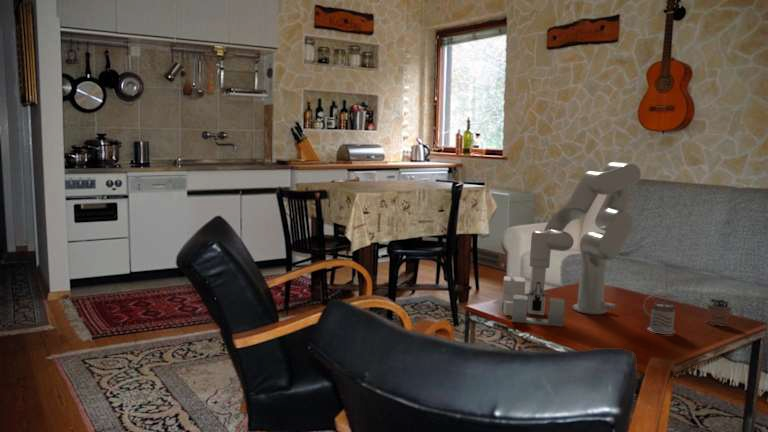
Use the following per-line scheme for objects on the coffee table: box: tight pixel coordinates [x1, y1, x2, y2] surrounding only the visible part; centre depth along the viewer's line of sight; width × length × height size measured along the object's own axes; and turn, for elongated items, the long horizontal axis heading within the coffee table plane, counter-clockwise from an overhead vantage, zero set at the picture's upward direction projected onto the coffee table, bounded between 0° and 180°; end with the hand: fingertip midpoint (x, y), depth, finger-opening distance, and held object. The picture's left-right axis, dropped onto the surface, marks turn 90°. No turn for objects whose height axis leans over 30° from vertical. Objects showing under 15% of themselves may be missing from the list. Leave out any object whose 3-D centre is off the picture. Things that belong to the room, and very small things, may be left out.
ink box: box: [501, 272, 526, 310], centre depth 255 cm, size 9×8×13 cm
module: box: [527, 289, 546, 316], centre depth 250 cm, size 6×6×8 cm
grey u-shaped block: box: [511, 294, 565, 328], centre depth 235 cm, size 18×6×9 cm, turn 78°
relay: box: [502, 300, 513, 317], centre depth 245 cm, size 4×4×5 cm
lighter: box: [705, 298, 732, 326], centre depth 242 cm, size 8×3×10 cm, turn 71°
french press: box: [643, 262, 678, 334], centre depth 231 cm, size 10×12×25 cm
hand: (536, 307), depth 250 cm, fingers closed on module, 5 cm apart
